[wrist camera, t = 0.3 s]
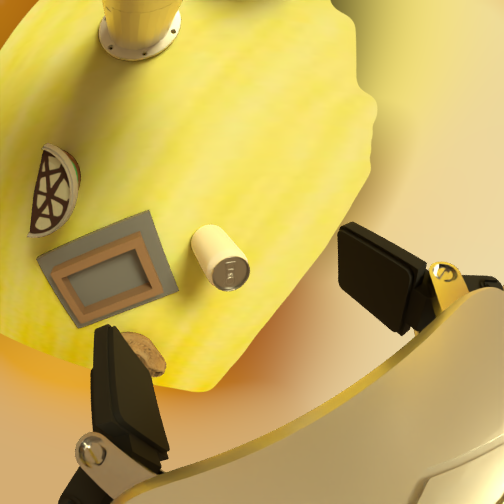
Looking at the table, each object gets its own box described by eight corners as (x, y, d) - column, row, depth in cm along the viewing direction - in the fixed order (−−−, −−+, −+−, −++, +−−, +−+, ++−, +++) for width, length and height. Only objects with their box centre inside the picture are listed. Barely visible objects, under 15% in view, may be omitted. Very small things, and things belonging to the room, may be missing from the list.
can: (191, 259, 48) (209, 297, 38) (189, 225, 45) (208, 257, 35) (225, 254, 50) (251, 289, 41) (225, 221, 47) (254, 250, 38)
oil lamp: (155, 368, 55) (161, 395, 49) (94, 350, 47) (94, 379, 40) (175, 336, 54) (184, 363, 47) (110, 314, 45) (110, 343, 39)
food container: (78, 223, 36) (66, 250, 28) (46, 216, 33) (26, 240, 25) (97, 147, 33) (86, 153, 25) (62, 139, 30) (42, 143, 22)
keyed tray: (37, 256, 35) (32, 266, 32) (149, 209, 41) (150, 216, 38) (79, 325, 43) (77, 337, 40) (178, 287, 49) (181, 298, 46)
